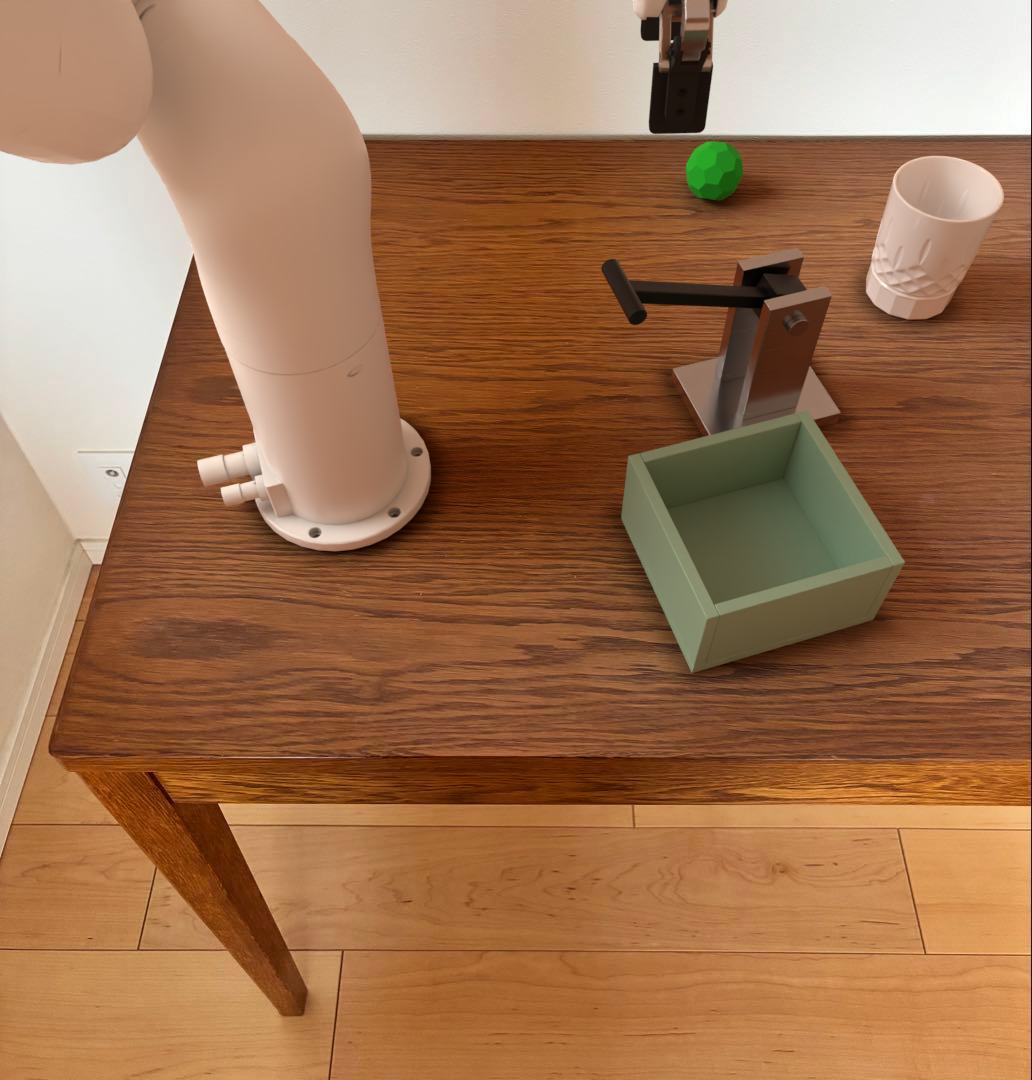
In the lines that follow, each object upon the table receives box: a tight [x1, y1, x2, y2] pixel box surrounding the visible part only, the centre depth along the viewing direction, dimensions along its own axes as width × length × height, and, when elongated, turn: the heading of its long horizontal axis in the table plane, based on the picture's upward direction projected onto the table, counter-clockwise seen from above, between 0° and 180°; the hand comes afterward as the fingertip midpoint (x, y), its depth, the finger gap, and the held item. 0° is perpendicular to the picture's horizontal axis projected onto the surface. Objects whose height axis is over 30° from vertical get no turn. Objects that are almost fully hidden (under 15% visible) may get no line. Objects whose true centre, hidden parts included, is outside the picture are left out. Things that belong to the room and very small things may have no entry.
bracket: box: [670, 247, 841, 437], centre depth 69 cm, size 10×8×12 cm
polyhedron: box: [685, 140, 744, 201], centre depth 86 cm, size 5×5×5 cm
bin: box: [620, 411, 906, 674], centre depth 63 cm, size 13×13×7 cm
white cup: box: [865, 155, 1005, 320], centre depth 77 cm, size 8×8×10 cm
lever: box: [600, 258, 808, 326], centre depth 64 cm, size 14×5×2 cm, turn 107°
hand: (670, 82), depth 59 cm, fingers open, 9 cm apart
